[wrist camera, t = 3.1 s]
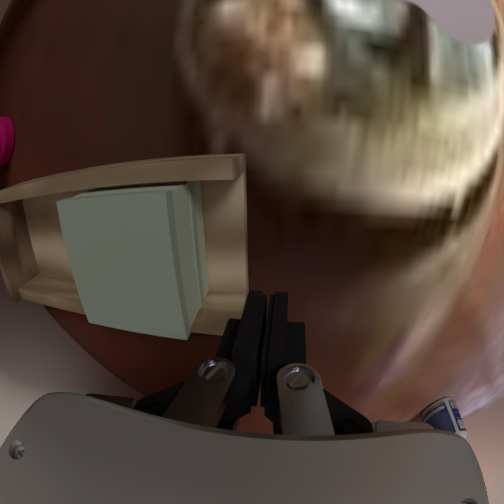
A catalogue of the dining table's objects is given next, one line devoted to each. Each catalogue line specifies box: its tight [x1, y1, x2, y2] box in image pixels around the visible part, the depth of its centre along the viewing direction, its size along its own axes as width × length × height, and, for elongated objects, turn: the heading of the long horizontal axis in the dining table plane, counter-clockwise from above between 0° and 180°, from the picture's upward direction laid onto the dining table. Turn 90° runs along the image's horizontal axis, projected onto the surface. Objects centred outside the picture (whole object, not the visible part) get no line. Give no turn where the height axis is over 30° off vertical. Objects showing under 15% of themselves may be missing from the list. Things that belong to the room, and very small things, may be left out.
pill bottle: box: [422, 397, 467, 439], centre depth 24 cm, size 6×6×10 cm
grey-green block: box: [56, 180, 209, 340], centre depth 18 cm, size 9×8×6 cm
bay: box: [0, 154, 248, 336], centre depth 20 cm, size 12×26×6 cm, turn 90°
